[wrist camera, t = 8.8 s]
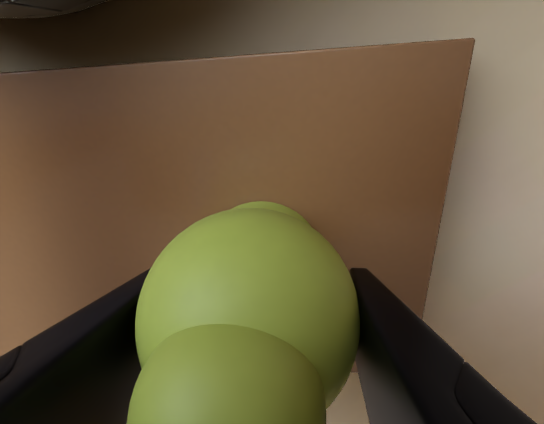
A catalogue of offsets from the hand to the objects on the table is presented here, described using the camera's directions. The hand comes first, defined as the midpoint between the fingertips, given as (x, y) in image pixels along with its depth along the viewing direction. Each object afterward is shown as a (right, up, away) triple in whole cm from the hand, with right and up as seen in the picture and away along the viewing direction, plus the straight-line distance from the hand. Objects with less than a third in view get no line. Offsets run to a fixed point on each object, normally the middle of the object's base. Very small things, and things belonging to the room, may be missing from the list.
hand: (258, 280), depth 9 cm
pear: (0, +1, +1) cm, 1 cm away
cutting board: (-6, +1, +3) cm, 7 cm away
